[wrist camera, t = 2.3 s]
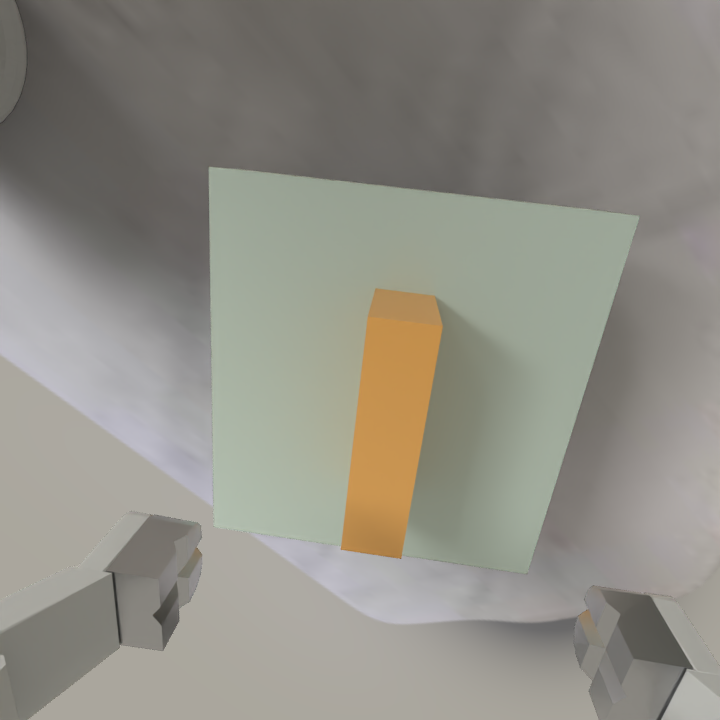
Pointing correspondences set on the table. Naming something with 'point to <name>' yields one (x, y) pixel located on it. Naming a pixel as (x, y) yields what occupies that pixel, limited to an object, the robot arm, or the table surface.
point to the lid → (399, 361)
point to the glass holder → (11, 57)
